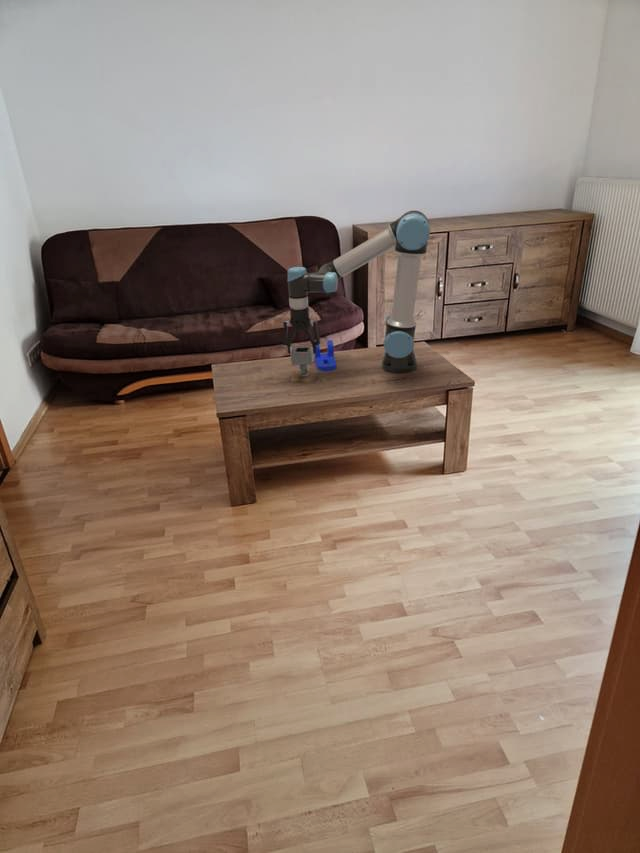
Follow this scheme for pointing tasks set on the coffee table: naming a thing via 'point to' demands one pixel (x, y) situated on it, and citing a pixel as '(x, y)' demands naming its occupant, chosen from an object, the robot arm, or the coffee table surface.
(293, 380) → the peg stand
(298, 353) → the gray square frame
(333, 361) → the bracket
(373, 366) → the coffee table surface
